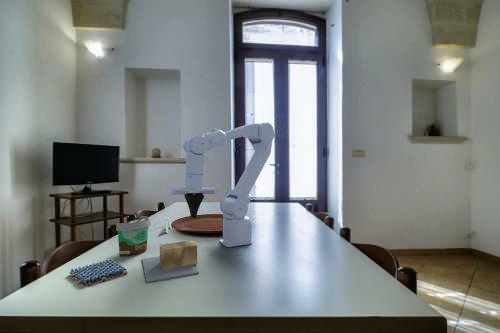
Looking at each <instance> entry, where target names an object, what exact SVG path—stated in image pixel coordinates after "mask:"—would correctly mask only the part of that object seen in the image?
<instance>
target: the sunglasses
mask: <svg viewBox="0 0 500 333" xmlns="http://www.w3.org/2000/svg"><path fill="white" fill-rule="evenodd" d="M162 222H163V220H161V221H160V222H159V221H158V222H155V223H154V224H153V226H152V227H155V225H156V224H159V223H162ZM171 224H172V218H171V217H170V216H169V217H168V219H165V220H164V225H163V226H160V227H156V228H155V230H156V229H160V228H164V230H165V231H166V232H165V233H166V234H168V233H169V229H172V227H171ZM150 231H151V229H148V232H150Z"/></svg>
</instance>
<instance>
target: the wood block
mask: <svg viewBox="0 0 500 333" xmlns="http://www.w3.org/2000/svg"><path fill="white" fill-rule="evenodd" d="M159 256H160V265H161V267H162V270H163V269H169V268H175V267H181V266H188V265H194V266H195V265H198V245H197V243H196V242H195V241H194V240H185V241H178V242H170V243H169V242H168V243H161V244H159Z"/></svg>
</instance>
